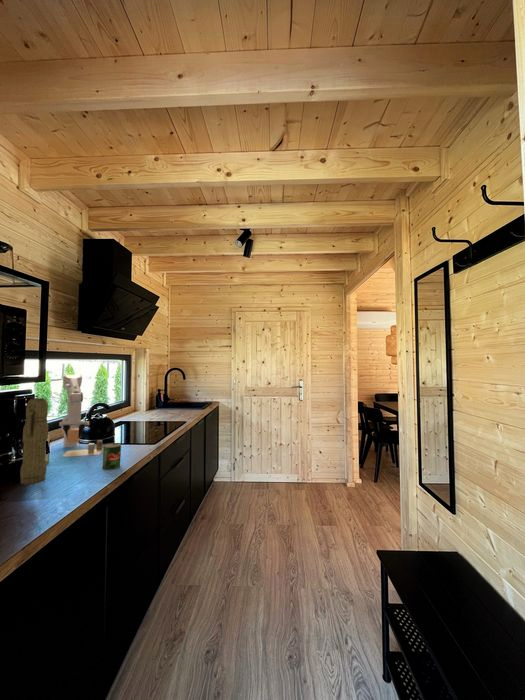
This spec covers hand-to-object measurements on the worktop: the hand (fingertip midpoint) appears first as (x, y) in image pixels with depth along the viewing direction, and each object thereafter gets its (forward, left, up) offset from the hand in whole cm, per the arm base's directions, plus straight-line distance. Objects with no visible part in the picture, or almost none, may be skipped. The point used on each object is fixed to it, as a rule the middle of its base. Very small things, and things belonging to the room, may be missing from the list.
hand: (73, 438), depth 176 cm
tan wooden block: (0, 0, -2) cm, 2 cm away
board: (+3, +6, -8) cm, 10 cm away
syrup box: (+20, -10, -8) cm, 24 cm away
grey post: (+5, +10, -7) cm, 13 cm away
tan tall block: (+43, -5, -8) cm, 44 cm away
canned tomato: (+32, +24, -8) cm, 41 cm away
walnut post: (-1, +13, -7) cm, 15 cm away
